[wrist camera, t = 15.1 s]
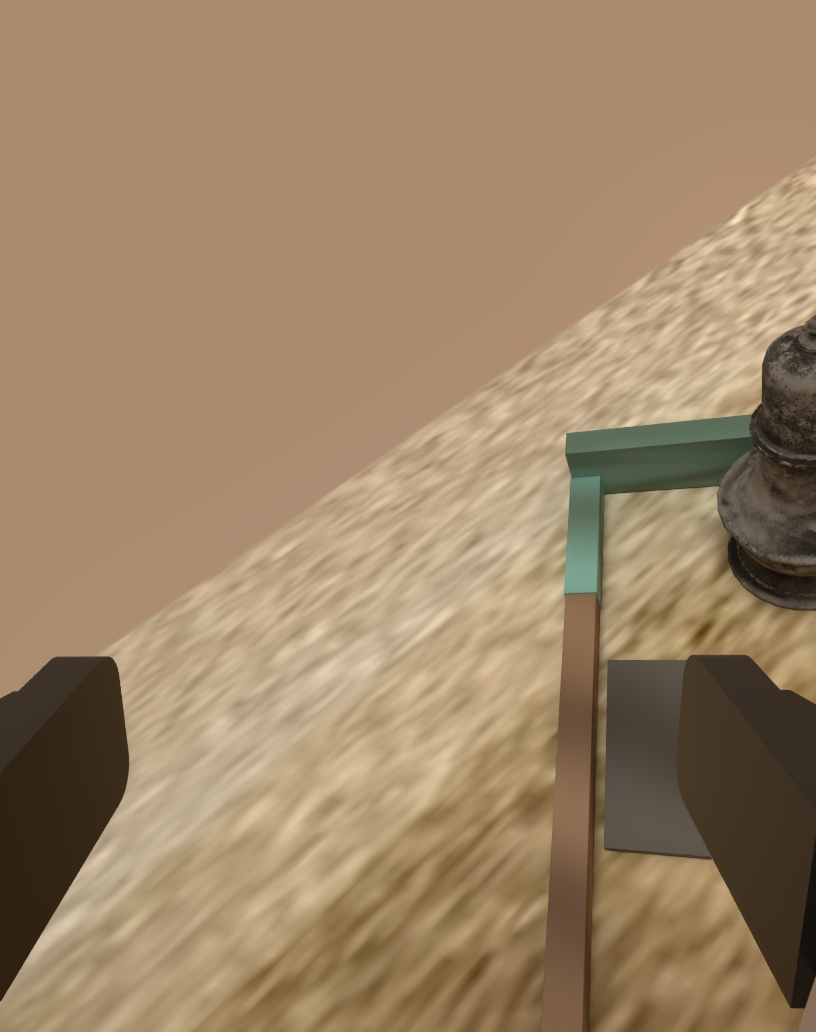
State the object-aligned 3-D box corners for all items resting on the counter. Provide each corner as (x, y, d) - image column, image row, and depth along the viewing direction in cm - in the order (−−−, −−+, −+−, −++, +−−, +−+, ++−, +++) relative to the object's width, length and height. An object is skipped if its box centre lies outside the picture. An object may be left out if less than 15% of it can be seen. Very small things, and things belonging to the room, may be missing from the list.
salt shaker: (750, 479, 34) (749, 242, 25) (906, 516, 30) (968, 257, 22) (696, 587, 32) (674, 368, 23) (858, 639, 28) (905, 407, 19)
